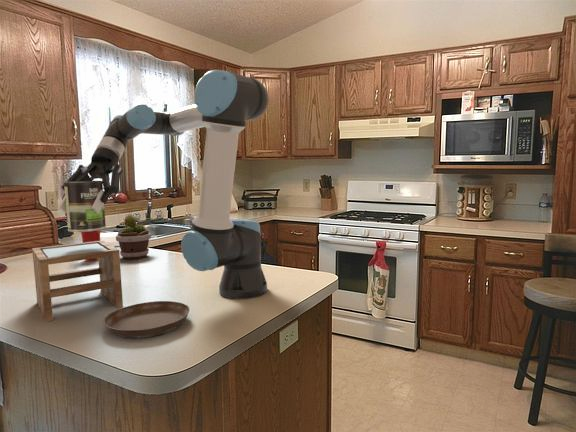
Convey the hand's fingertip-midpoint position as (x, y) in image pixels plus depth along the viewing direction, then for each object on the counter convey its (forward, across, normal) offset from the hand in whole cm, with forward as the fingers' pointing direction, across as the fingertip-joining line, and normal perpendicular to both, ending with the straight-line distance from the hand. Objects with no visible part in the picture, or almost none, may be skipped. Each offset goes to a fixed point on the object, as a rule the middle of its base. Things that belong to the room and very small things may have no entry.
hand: (78, 210), depth 119 cm
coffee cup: (-17, +37, -58) cm, 71 cm away
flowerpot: (-22, +21, -63) cm, 70 cm away
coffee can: (+2, 0, -7) cm, 7 cm away
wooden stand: (+20, +2, -19) cm, 28 cm away
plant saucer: (+28, -27, -11) cm, 41 cm away
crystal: (-39, +44, -81) cm, 100 cm away
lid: (+9, +2, -9) cm, 13 cm away
